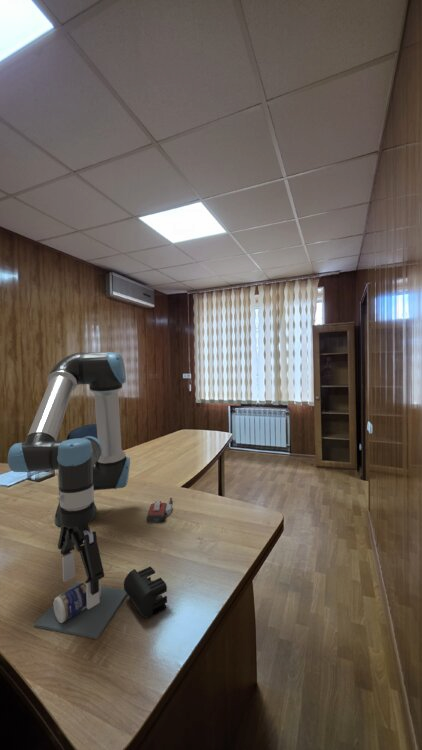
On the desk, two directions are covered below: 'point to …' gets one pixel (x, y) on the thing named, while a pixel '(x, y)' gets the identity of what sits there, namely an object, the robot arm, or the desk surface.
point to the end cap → (146, 592)
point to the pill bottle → (71, 602)
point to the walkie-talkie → (159, 512)
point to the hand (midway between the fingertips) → (80, 591)
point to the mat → (86, 615)
